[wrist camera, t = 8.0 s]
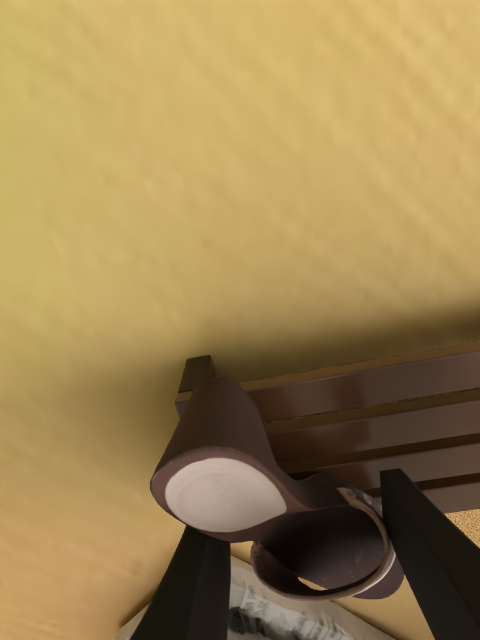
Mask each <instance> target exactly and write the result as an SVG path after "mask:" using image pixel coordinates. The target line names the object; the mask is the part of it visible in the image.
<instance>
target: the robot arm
mask: <svg viewBox="0 0 480 640" xmlns="http://www.w3.org/2000/svg"><path fill="white" fill-rule="evenodd" d="M380 485H381V501H382V516H383V520H384V522H385V525H386V527H387V530H388V532H389V537H390V540H391V543H392V546H393V548H394V551H395V554H396V556H397V558H398V561H399V563H400V565H401V567H402V569H403V571H404V574H405V576H406V578H407V580H408V582H409V584H410V587H411V589H412V591H413V593H414V595H415V597H416V599H417V602H418V604H419V606H420V608H421V610H422V612H423V614H424V617H425V619H426V621H427V623H428V625H429V627H430V629H431V632H432V634H433V636H434V638H435V640H480V548H479V547H478V546H476V545H475V544H474V543H473V542H472V541H471V540H470V539H469V538H468V537H467V536H466V535H465V534H464V533H463V532H462V531H461V530H460V529H459V528H458V527H456V526H455V525H454V524H453V523H452V522H451V521H450V520H449V519H448V518H447V517H446V516H445V515H444V514H443V513H442V512H441V511H440V510H439V509H438V508H437V507H436V506H435V505H434V504H433V503H432V501H431V500H430V499H429V498H428V497H427V496H426V495H425V494H424V493H423V492H422V491H421V490H420V489H419V488H418V487H417V485H416V484H415V483H414V482H413V481H412V480H411V479H410V478H409V476H408V475H407V474H406V473H405V472H404V471H403V470H402V469H400V468H397V469H390V470H384V471H380ZM230 586H231V553H230V542H228V541H223V540H219V539H216V538H214V537H211V536H208V535H206V534H204V533H202V532H200V531H198V530H196V529H194V528H192V527H190V526H188V525H186V528H185V530H184V533H183V535H182V537H181V540H180V542H179V544H178V547H177V549H176V551H175V553H174V555H173V558H172V560H171V562H170V564H169V566H168V569H167V571H166V573H165V575H164V577H163V579H162V581H161V583H160V585H159V587H158V589H157V591H156V592H155V594H154V596H153V598H152V600H151V602H150V604H149V606H148V608H147V610H146V612H145V613H144V615H143V617H142V619H141V621H140V622H139V624H138V626H137V628H136V629H135V631H134V633H133V634H132V636H131V638H130V640H227V631H228V616H229V601H230Z"/></svg>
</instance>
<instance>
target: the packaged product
mask: <svg viewBox="0 0 480 640" xmlns="http://www.w3.org/2000/svg"><path fill="white" fill-rule="evenodd" d="M149 604H150V603H149ZM149 604H148V605H147V606H146V607H145V608H143V609H142V610H141V611H140V612H139V613H138V614H137V615H136V616H135V617H134V618H133V619H131V620H130V621H129V622H128V623H127V624H126V625H124V626H123V627H122V628H121V629H120V630H118V632H117V635H116V638H115V640H130V638H131V636H132V634H133V633H134V631H135V629H136V628H137V626H138V624H139V622H140V621H141V619H142V617H143V615H144V613H145V612H146V610H147V608H148V606H149ZM227 640H396V639H394V638H392V637H390V636H389V635H387V634H385V633H383V632H382V631H380V630H378V629H376V628H375V627H373V626H371V625H369V624H368V623H366V622H365V621H363V620H361V619H360V618H358V617H357V616H355V615H353V614H352V613H350V612H349V611H347V610H345V609H344V608H342V607H341V606H339V605H337V604H336V603H333V602H330V601H323V602H303V601H297V600H291V599H288V598H286V597H283V596H281V595H279V594H276V593H275V592H273V591H271V590H270V589H269V588H267V587H266V586H265V585H263V584H262V583H261V582H260V581H259V579H258V578H257V576H256V574H255V573H254V570H253V567H252V565H250V564H248V563H246V562H244V561H242V560H240V559H238V558H236V557H234V556H232V555H231V586H230V601H229V616H228V631H227Z"/></svg>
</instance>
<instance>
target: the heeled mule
mask: <svg viewBox="0 0 480 640" xmlns="http://www.w3.org/2000/svg"><path fill="white" fill-rule="evenodd" d="M150 490H151V493H152V495H153V497H154V498H155V500H156V501H157V503H158V504H159V505H160V506H161V507H162V508H163V509H164V510H165V511H166V512H168V513H169V514H170V515H172V516H173V517H174V518H176V519H177V520H179V521H181V522H182V523H184V524H186V525H188V526H190V527H192V528H194V529H196V530H198V531H200V532H202V533H204V534H206V535H208V536H211V537H214V538H216V539H219V540H223V541H228V542H245V541H253V545H252V547H251V563H252V567H253V570H254V573H255V574H256V576H257V578H258V579H259V581H260V582H261V583H262V584H263V585H265V586H266V587H267V588H269V589H270V590H271V591H273V592H275V593H276V594H279V595H281V596H283V597H286V598H288V599H291V600H297V601H303V602H323V601H332V600H338V599H345V598H348V597H350V596H351V597H355V598H361V599H382V598H386V597H388V596H390V595H392V594H393V593H394V592H396V591H397V590H398V589H399V587H400V585H401V583H402V581H403V579H404V571H403V569H402V567H401V565H400V563H399V561H398V558H397V556H396V554H395V551H394V548H393V546H392V543H391V540H390V537H389V532H388V530H387V527H386V525H385V522H384V520H383V516H382V506H381V505H380V504H379V503H378V502H377V501H376V500H375V499H374V498H372V497H371V496H369V495H368V494H366V493H365V492H363V491H361V490H359V489H357V488H355V487H354V486H352V485H350V484H348V483H346V482H344V481H342V480H339V479H337V478H334V477H332V476H329V475H326V474H323V473H318V474H315V475H313V476H310V477H308V478H306V479H304V480H301V481H296V480H294V479H292V478H291V477H289V476H288V475H287V474H286V473H285V472H284V471H282V470H281V469H280V467H279V466H278V465H277V463H276V461H275V459H274V456H273V454H272V451H271V448H270V444H269V441H268V438H267V435H266V432H265V430H264V426H263V423H262V420H261V417H260V413H259V410H258V408H257V406H256V404H255V403H254V402H253V400H252V399H251V398H250V396H249V395H248V394H247V392H246V391H245V390H244V389H243V388H242V387H241V386H240V385H239V384H238V383H236V382H234V381H233V380H231V379H229V378H225V377H211V378H208V379H205V380H203V381H202V382H200V383H199V384H198V385H197V386H196V387H195V388H194V390H193V391H192V394H191V396H190V399H189V401H188V403H187V405H186V408H185V410H184V412H183V414H182V416H181V418H180V421H179V423H178V425H177V427H176V429H175V432H174V434H173V436H172V438H171V440H170V442H169V444H168V446H167V448H166V450H165V452H164V454H163V456H162V458H161V460H160V462H159V463H158V465H157V467H156V470H155V472H154V474H153V477H152V479H151V481H150ZM298 577H300V578H303V579H305V580H308V581H310V582H312V583H314V584H317V585H319V586H321V587H324V588H326V589H329V590H323V591H320V590H313V589H311V588H309V587H308V586H307V585H305V584H303V583H302V582H301V581H299V579H298Z"/></svg>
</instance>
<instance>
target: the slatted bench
mask: <svg viewBox="0 0 480 640" xmlns="http://www.w3.org/2000/svg"><path fill="white" fill-rule="evenodd" d="M211 377H216V374H215V370H214V366H213V363H212V359H211V356H210V355H208V356H203V357H197V358H191V359H187V361H186V365H185V369H184V372H183V376H182V379H181V383H180V386H179V390H178V394H177V398H176V401H175V405H176V408H177V411H178V414H179V417H180V418H181V416H182V414H183V412H184V410H185V408H186V405H187V403H188V401H189V399H190V396H191V394H192V391H193V390H194V388H195V387H196V386H197V385H198V384H199V383H200V382H202V381H203V380H205V379H208V378H211ZM238 384H239V385H240V386H241V387H242V388H243V389H244V390H245V391H246V392H247V394H248V395H249V396H250V398H251V399H252V400H253V402H254V403H255V404H256V406H257V408H258V410H259V413H260V417H261V420H262V423H265V422H271V421H277V420H283V419H289V418H296V417H302V416H308V415H314V414H320V413H326V412H332V411H338V410H344V409H351V408H357V407H363V406H369V405H375V404H381V403H387V402H393V401H400V400H406V399H412V398H418V397H424V396H430V395H436V394H442V393H449V392H455V391H461V390H467V389H473V388H479V387H480V341H478V342H472V343H467V344H461V345H455V346H449V347H444V348H438V349H432V350H426V351H420V352H415V353H409V354H403V355H397V356H391V357H386V358H380V359H374V360H368V361H362V362H357V363H351V364H345V365H339V366H333V367H328V368H322V369H316V370H310V371H305V372H299V373H293V374H287V375H281V376H276V377H270V378H264V379H258V380H252V381H247V382H241V383H238ZM263 426H264V430H265V432H266V435H267V438H268V441H269V444H270V448H271V451H272V454H273V456H274V459H275V461H276V463H277V465H278V466H279V467H280V469H281V470H282V471H284V472H285V473H286V474H287V475H288V476H289V477H291V478H292V479H294V480H296V481H301V480H304V479H306V478H308V477H310V476H313V475H315V474H318V473H323V474H326V475H329V476H332V477H334V478H337V479H339V480H342V481H344V482H346V483H348V484H350V485H352V486H354V487H355V488H357V489H359V490H361V491H363V492H365V493H366V494H368V495H369V496H371V497H372V498H374V499H375V500H376V501H377V502H378V503H379V504H380V505H381V506H382V501H381V485H380V471H384V470H390V469H397V468H400V469H402V470H403V471H404V472H405V473H406V474H407V475H408V476H409V478H410V479H411V480H412V481H413V482H414V483H415V484H416V485H417V487H418V488H419V489H420V490H421V491H422V492H423V493H424V494H425V495H426V496H427V497H428V498H429V499H430V500H431V501H432V503H433V504H434V505H435V506H436V507H437V508H438V509H439V510H440V511H441V512H442V513H443V514H445V513H453V512H460V511H467V510H474V509H480V389H476V390H470V391H464V392H458V393H452V394H446V395H440V396H433V397H427V398H421V399H415V400H409V401H403V402H397V403H391V404H384V405H378V406H372V407H366V408H360V409H354V410H348V411H341V412H335V413H329V414H323V415H317V416H311V417H305V418H299V419H292V420H286V421H280V422H274V423H268V424H263ZM230 543H237V542H230Z"/></svg>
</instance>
